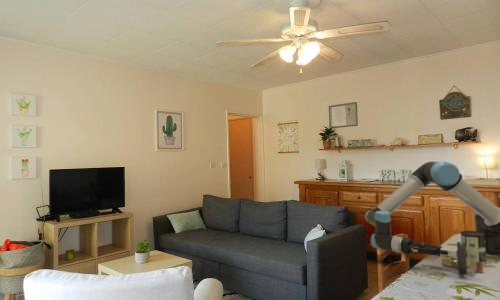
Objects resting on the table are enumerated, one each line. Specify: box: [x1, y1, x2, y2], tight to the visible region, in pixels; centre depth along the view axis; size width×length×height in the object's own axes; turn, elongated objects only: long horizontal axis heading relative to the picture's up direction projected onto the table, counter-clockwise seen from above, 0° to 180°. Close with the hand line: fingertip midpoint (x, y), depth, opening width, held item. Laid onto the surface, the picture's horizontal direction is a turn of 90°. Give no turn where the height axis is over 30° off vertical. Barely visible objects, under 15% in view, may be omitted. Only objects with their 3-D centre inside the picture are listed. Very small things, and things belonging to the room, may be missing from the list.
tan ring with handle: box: [440, 241, 471, 275], centre depth 157 cm, size 21×12×13 cm, turn 160°
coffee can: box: [460, 230, 487, 265], centre depth 169 cm, size 10×10×14 cm
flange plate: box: [428, 256, 484, 277], centre depth 160 cm, size 18×20×6 cm
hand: (456, 253), depth 149 cm, fingers closed
